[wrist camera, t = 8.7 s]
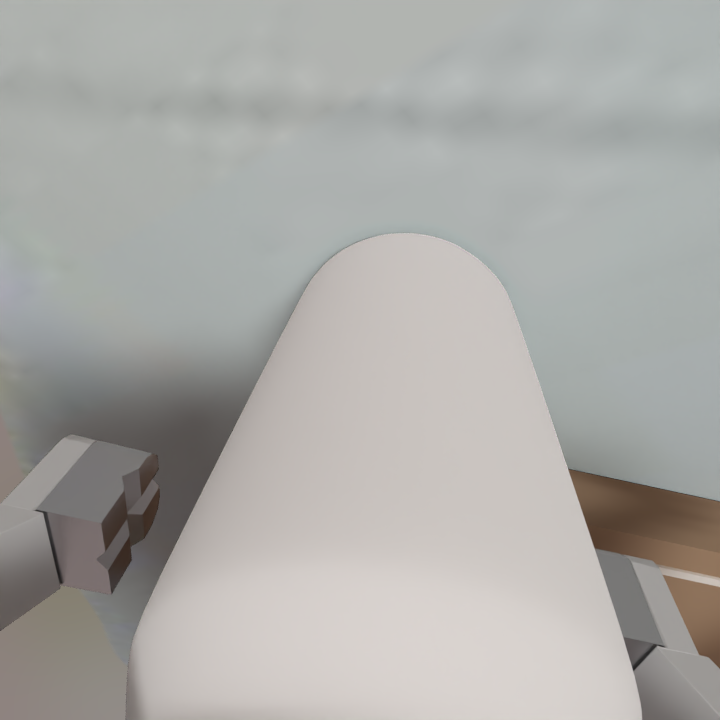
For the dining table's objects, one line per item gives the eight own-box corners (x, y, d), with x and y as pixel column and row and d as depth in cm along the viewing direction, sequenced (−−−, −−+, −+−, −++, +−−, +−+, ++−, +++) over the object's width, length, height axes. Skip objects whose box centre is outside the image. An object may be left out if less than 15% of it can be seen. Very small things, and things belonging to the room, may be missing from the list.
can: (558, 342, 15) (841, 967, 5) (395, 446, 18) (355, 978, 8) (413, 174, 13) (369, 639, 3) (256, 322, 16) (-53, 821, 6)
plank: (881, 536, 17) (944, 604, 15) (745, 655, 22) (780, 721, 20) (316, 414, 17) (301, 465, 15) (291, 558, 22) (277, 613, 19)
